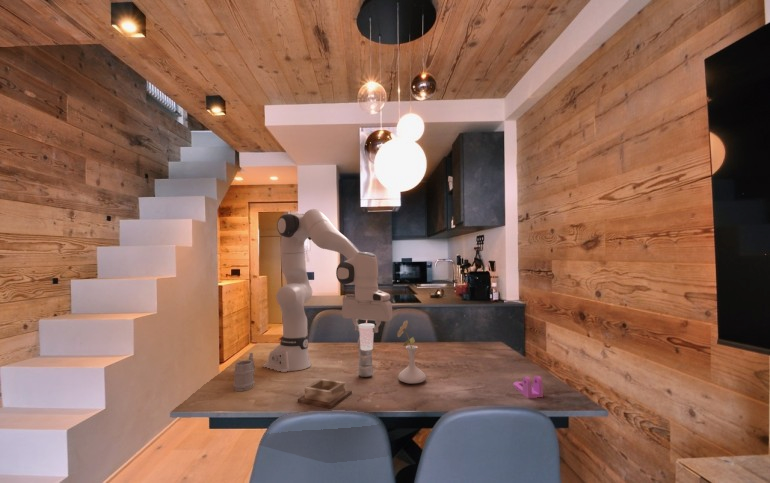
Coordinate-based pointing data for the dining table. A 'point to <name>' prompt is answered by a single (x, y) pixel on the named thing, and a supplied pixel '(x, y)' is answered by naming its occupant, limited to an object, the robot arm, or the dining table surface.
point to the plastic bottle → (365, 362)
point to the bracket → (530, 387)
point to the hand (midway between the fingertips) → (366, 331)
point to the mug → (244, 374)
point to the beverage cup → (366, 336)
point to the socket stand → (325, 393)
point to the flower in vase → (410, 361)
